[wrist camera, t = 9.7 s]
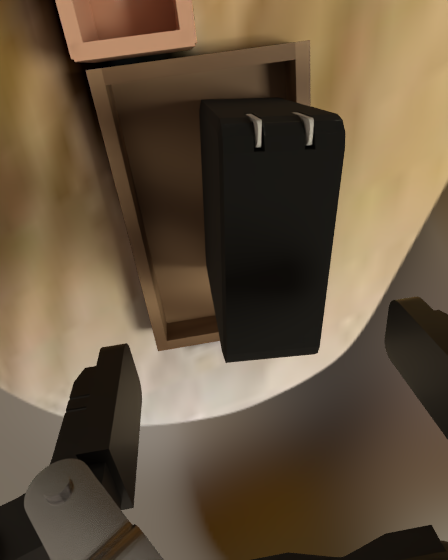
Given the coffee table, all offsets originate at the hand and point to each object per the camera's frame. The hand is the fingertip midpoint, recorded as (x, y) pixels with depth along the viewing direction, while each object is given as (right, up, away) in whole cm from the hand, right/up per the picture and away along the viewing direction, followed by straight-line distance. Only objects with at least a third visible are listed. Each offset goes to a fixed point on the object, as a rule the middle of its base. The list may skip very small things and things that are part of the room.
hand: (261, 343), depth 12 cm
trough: (-2, +6, +12) cm, 14 cm away
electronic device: (0, +7, +11) cm, 14 cm away
